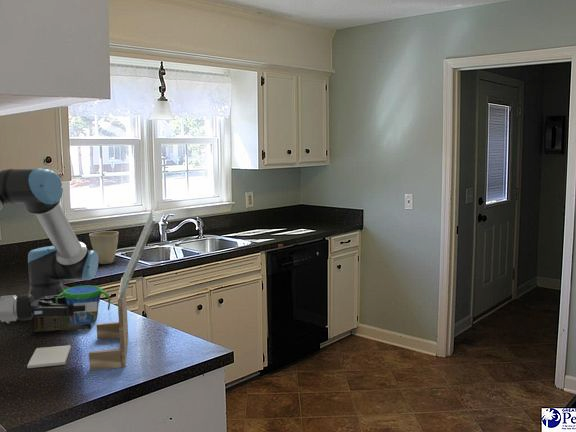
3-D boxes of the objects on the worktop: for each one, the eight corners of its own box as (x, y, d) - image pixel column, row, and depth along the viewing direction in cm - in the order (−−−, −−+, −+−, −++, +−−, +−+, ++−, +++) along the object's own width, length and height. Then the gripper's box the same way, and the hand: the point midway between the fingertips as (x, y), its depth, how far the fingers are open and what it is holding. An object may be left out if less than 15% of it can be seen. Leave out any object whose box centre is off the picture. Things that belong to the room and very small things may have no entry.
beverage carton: (91, 330, 192) (90, 311, 192) (33, 333, 190) (32, 314, 189) (96, 322, 200) (95, 304, 199) (40, 325, 198) (39, 307, 197)
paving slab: (36, 350, 173) (36, 348, 173) (70, 347, 176) (70, 345, 175) (27, 368, 160) (27, 365, 160) (64, 364, 162) (64, 361, 162)
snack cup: (113, 315, 175) (111, 283, 174) (108, 326, 165) (106, 292, 163) (61, 318, 173) (59, 286, 171) (52, 329, 162) (50, 295, 161)
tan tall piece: (97, 338, 184) (90, 211, 178) (159, 332, 188) (154, 209, 183) (89, 370, 158) (81, 223, 152) (161, 363, 162) (155, 220, 157)
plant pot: (115, 258, 310) (113, 230, 308) (123, 263, 298) (122, 233, 296) (87, 261, 302) (85, 232, 300) (95, 266, 290) (93, 236, 288)
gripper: (26, 309, 174) (101, 303, 180) (10, 332, 153) (96, 324, 159) (24, 286, 173) (100, 280, 179) (8, 305, 152) (95, 299, 158)
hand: (98, 301), depth 169 cm, fingers closed on snack cup, 9 cm apart
